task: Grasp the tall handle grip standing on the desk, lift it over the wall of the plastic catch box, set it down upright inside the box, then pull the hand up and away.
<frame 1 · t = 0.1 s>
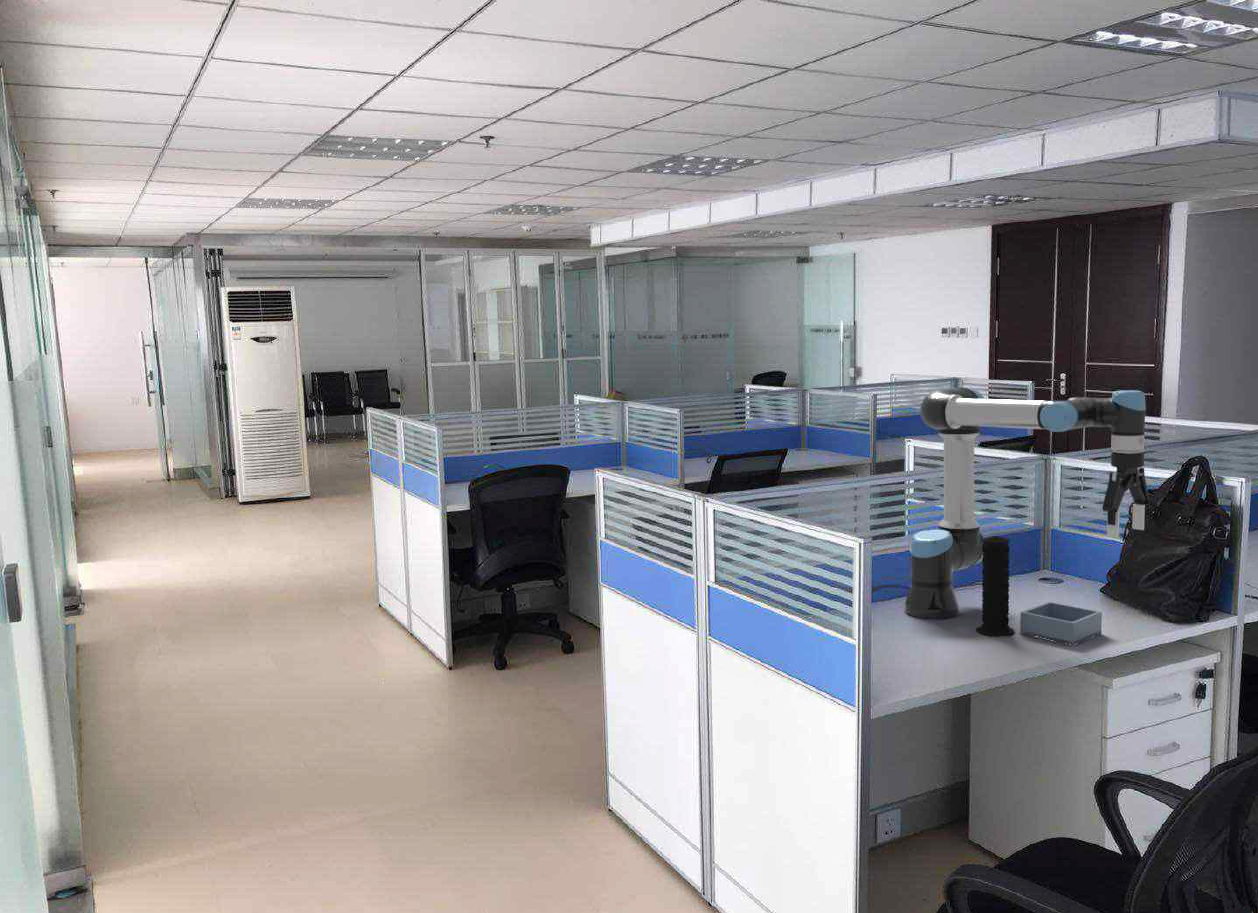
hand: (1125, 533, 249), 28 cm above the table, tool pointing down, fingers open, 13 cm apart
handle grip: (995, 632, 263), on the table
catch box: (1060, 633, 259), on the table
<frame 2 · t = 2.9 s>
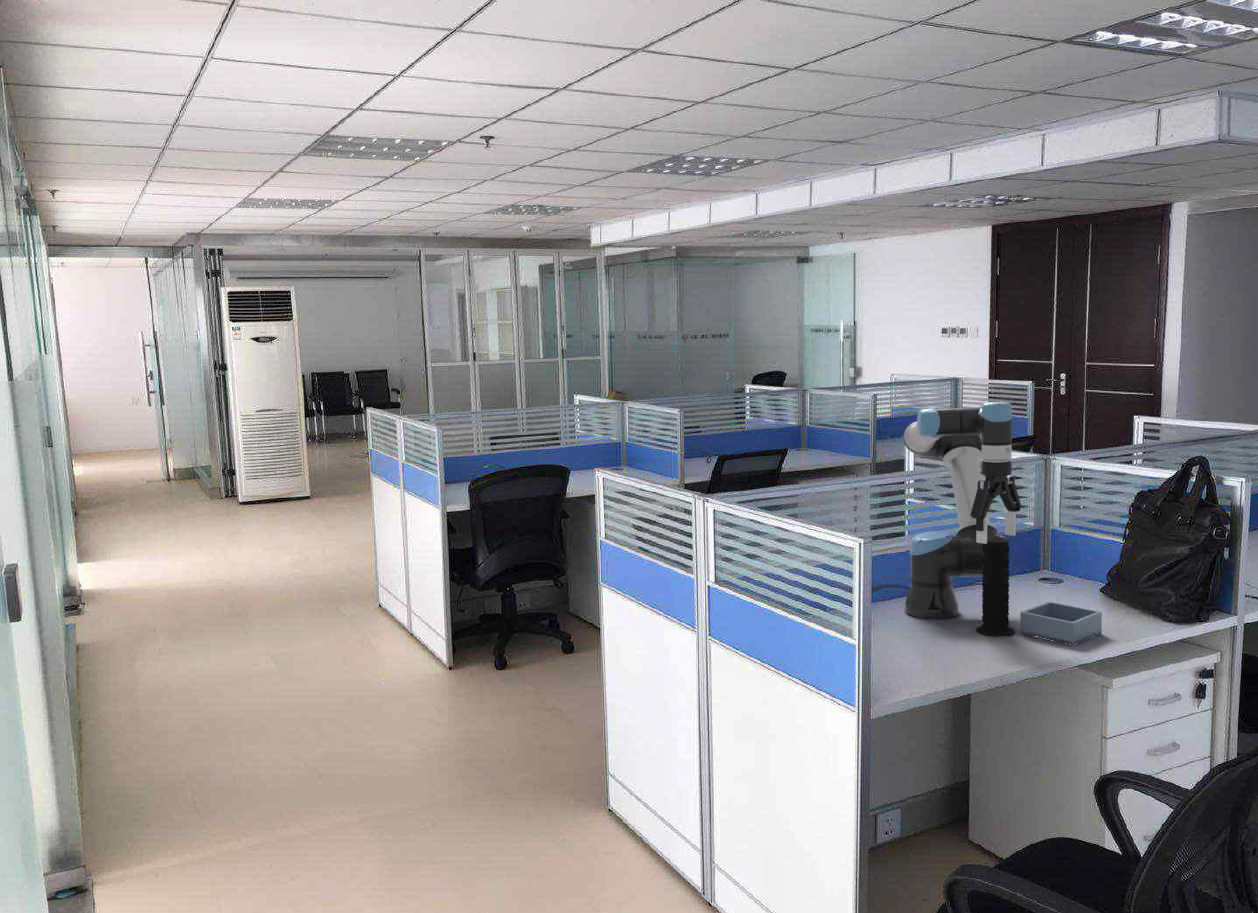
hand: (996, 539, 259), 26 cm above the table, tool pointing down, fingers open, 13 cm apart
nothing on the table moved.
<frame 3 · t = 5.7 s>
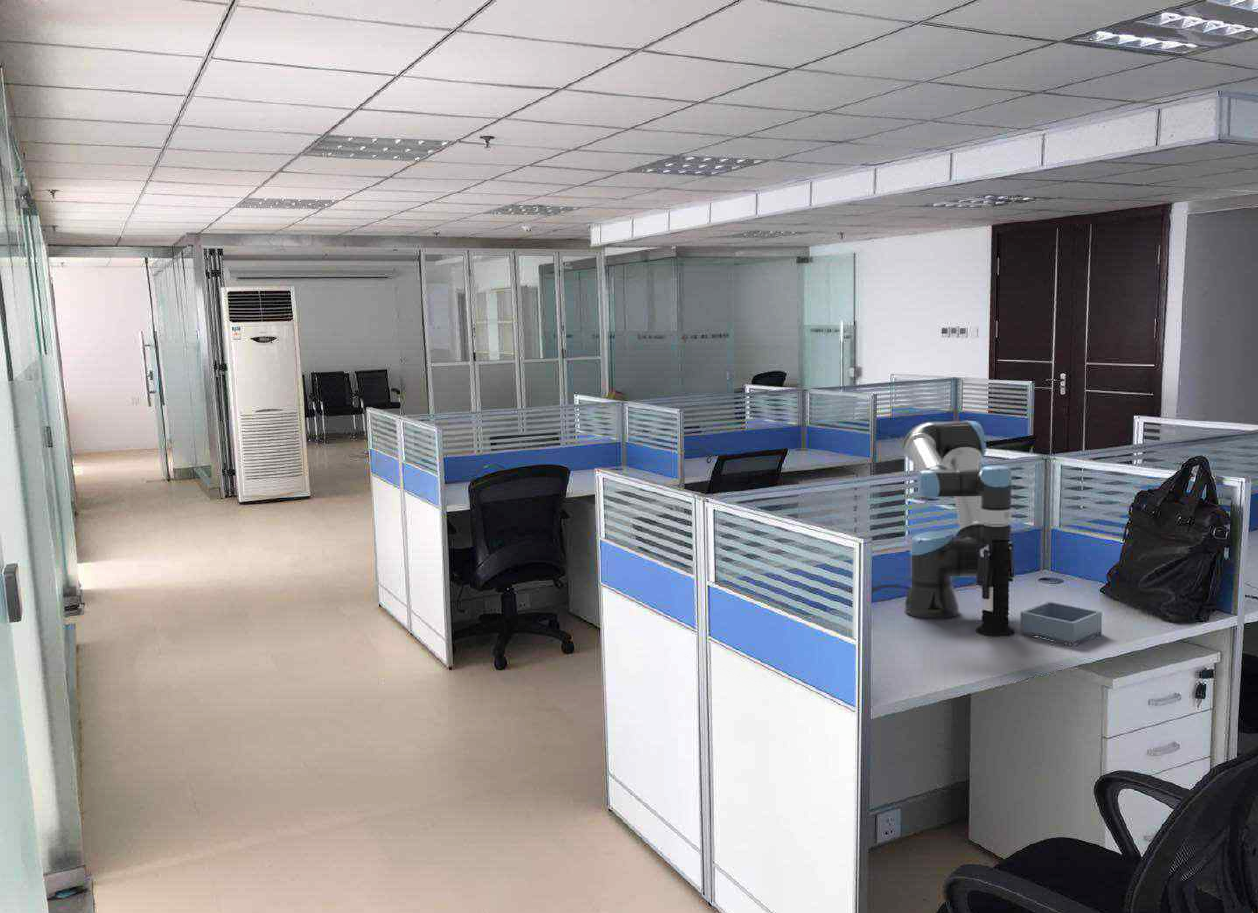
hand: (995, 607, 262), 7 cm above the table, tool pointing down, fingers closed on handle grip, 7 cm apart
handle grip: (995, 632, 263), on the table, touching gripper
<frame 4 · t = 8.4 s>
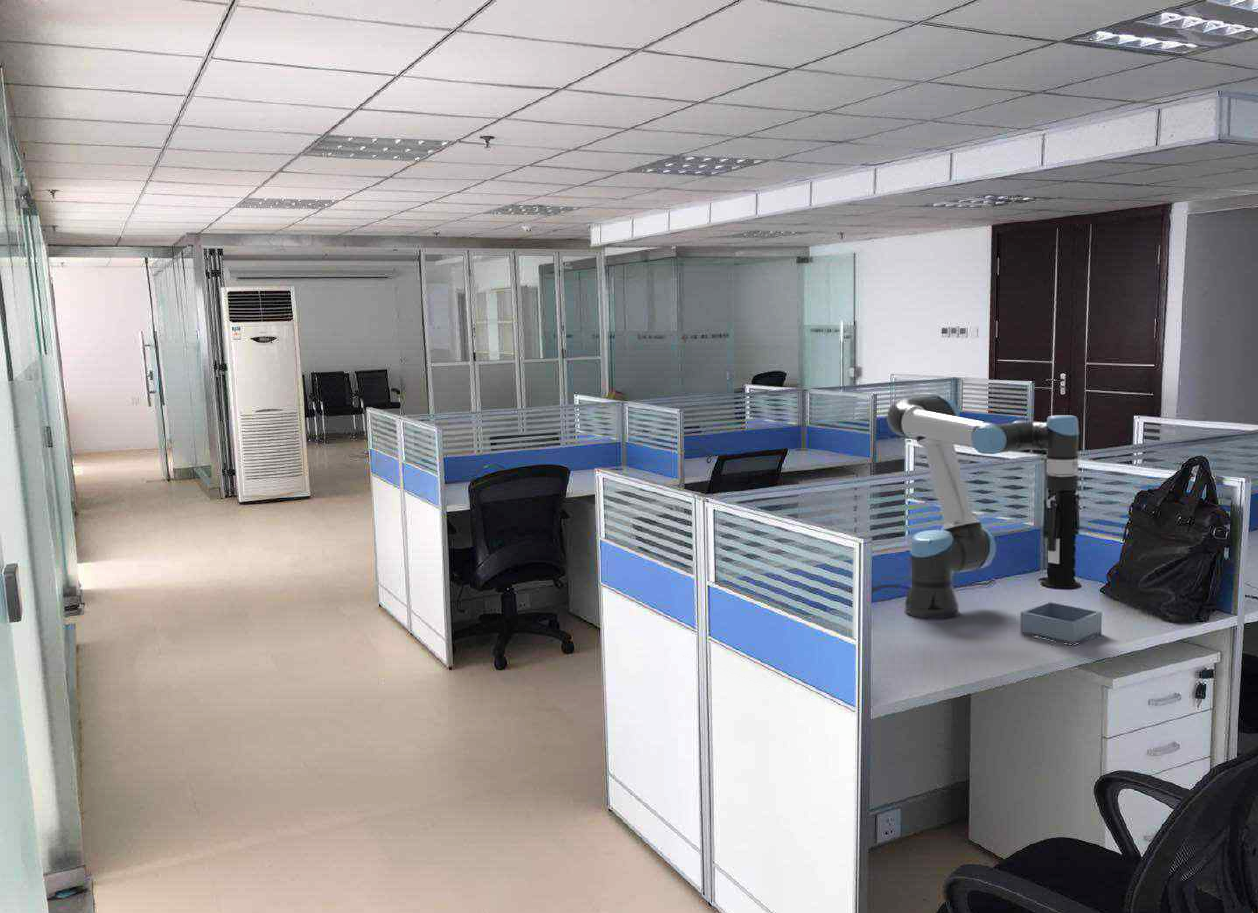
hand: (1061, 560, 256), 20 cm above the table, tool pointing down, fingers closed on handle grip, 7 cm apart
handle grip: (1060, 585, 257), point 13 cm above the table, touching gripper
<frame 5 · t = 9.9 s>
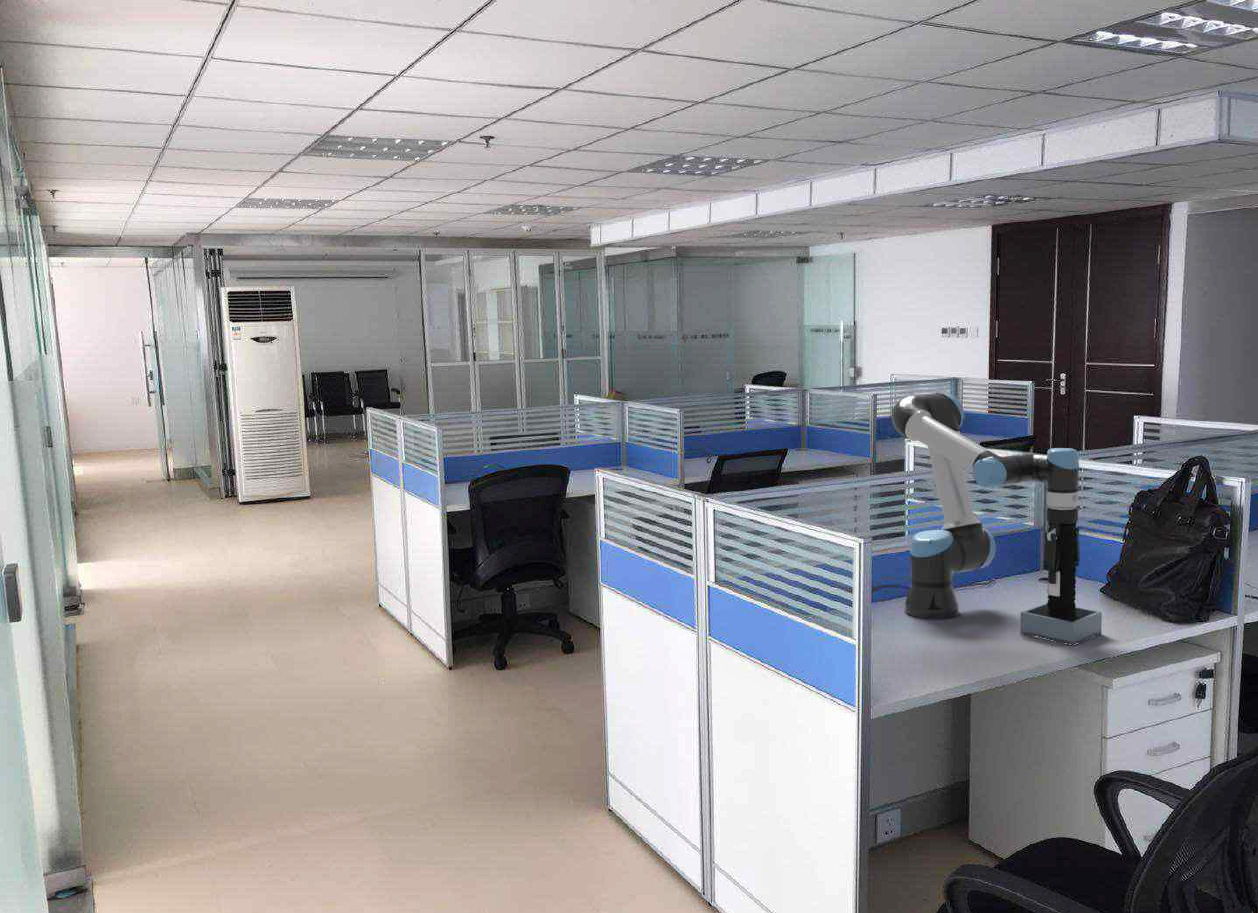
hand: (1061, 592, 257), 11 cm above the table, tool pointing down, fingers closed on handle grip, 7 cm apart
handle grip: (1061, 617, 258), point 4 cm above the table, touching gripper
when the fingers open (9 cm above the table, at t = 11.1 s): handle grip drops 2 cm, resting on catch box.
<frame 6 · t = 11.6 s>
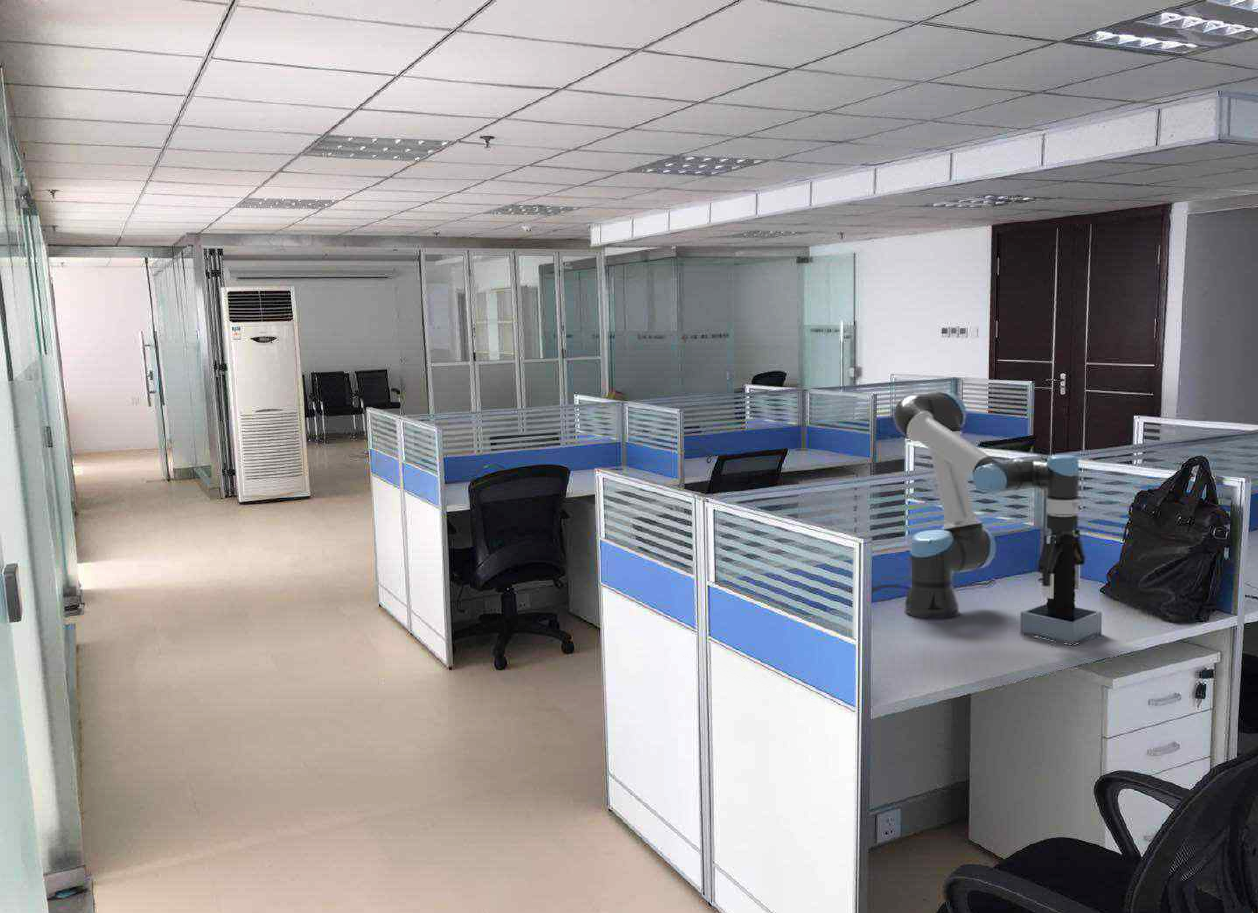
hand: (1061, 593, 257), 11 cm above the table, tool pointing down, fingers open, 13 cm apart
handle grip: (1060, 630, 258), point 1 cm above the table, touching catch box
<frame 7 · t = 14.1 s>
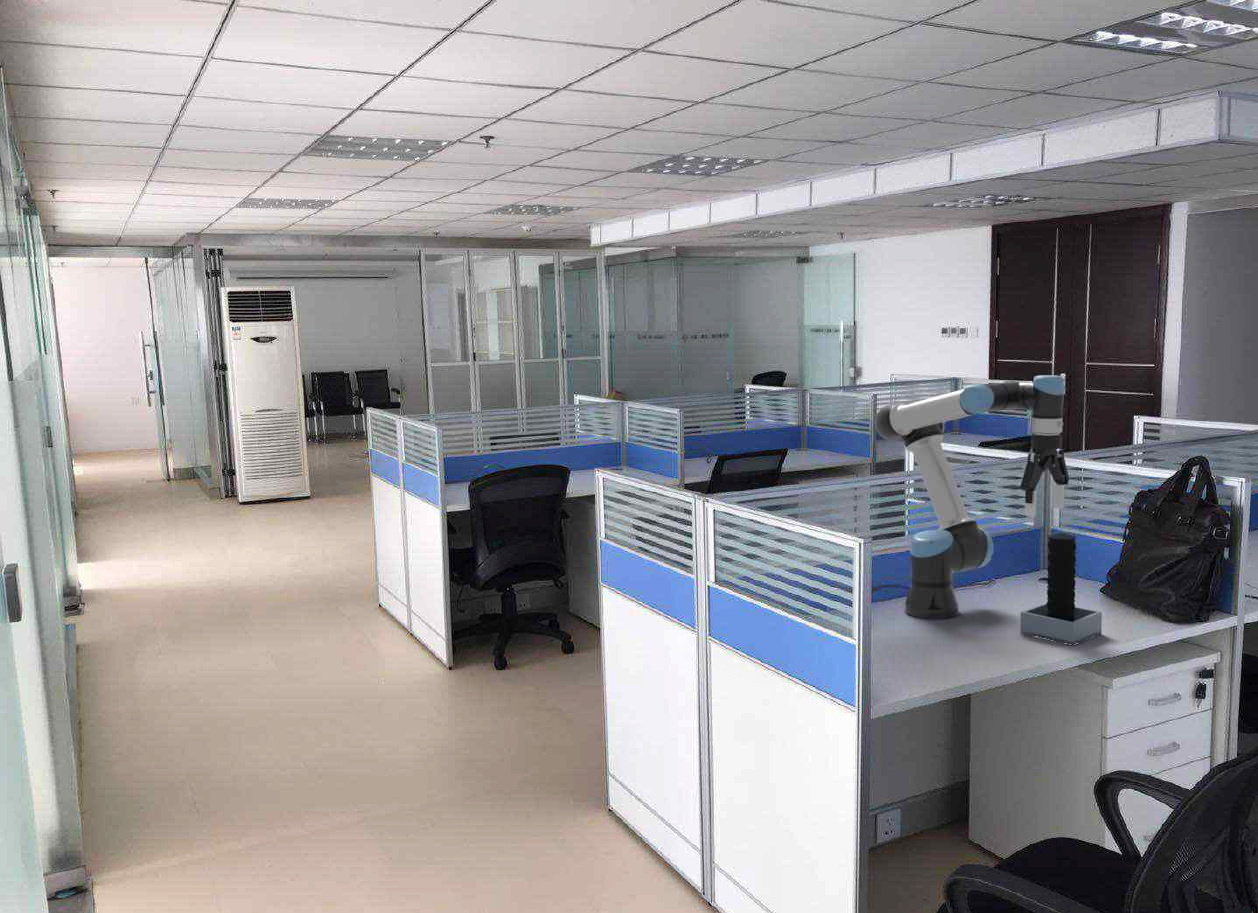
hand: (1044, 511, 261), 32 cm above the table, tool pointing down, fingers open, 13 cm apart
nothing on the table moved.
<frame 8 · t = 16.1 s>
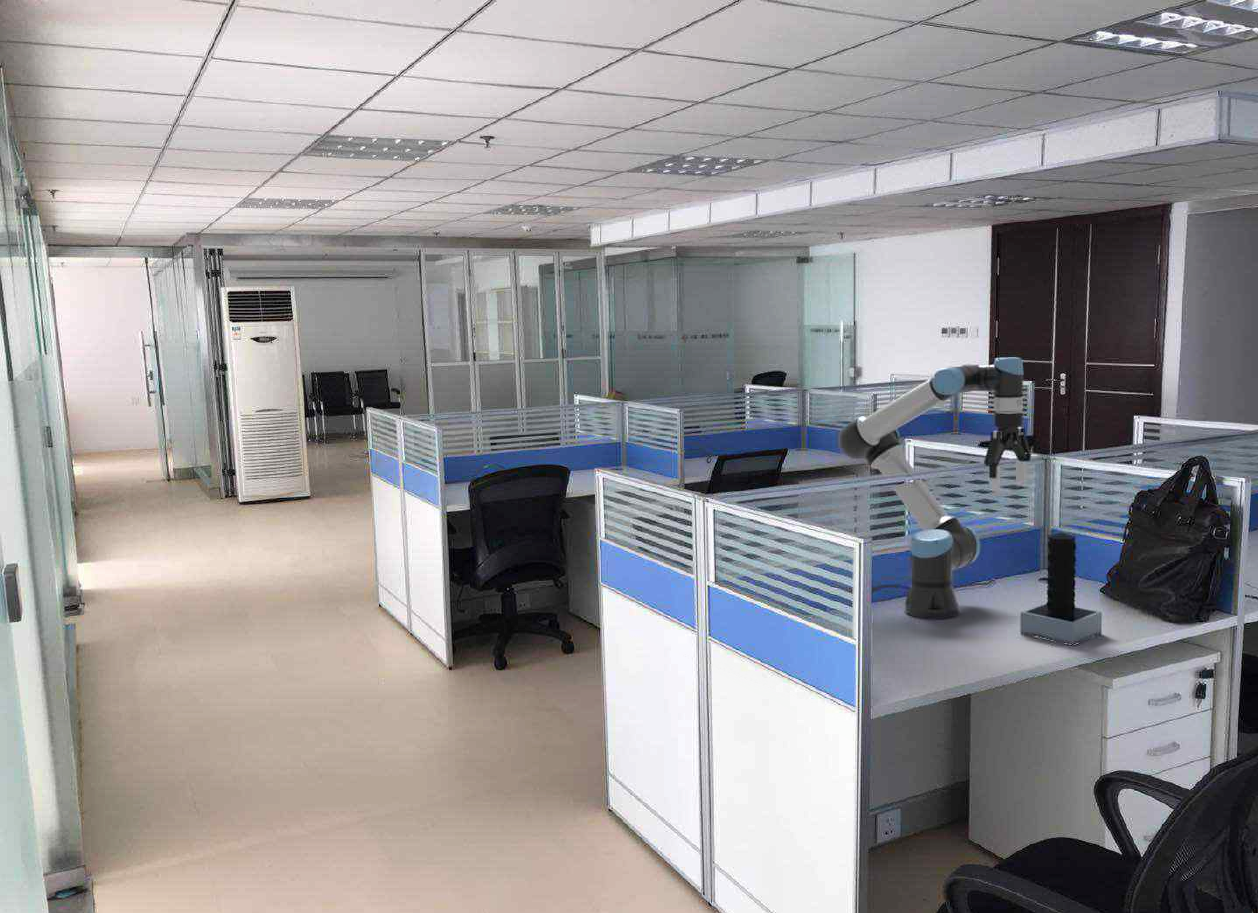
hand: (1007, 486, 276), 37 cm above the table, tool pointing down, fingers open, 13 cm apart
nothing on the table moved.
at the end: handle grip 0.0 cm off-centre on the catch box, point 0.8 cm above the catch box's base; handle grip tilted 0°; the gripper is holding nothing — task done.
